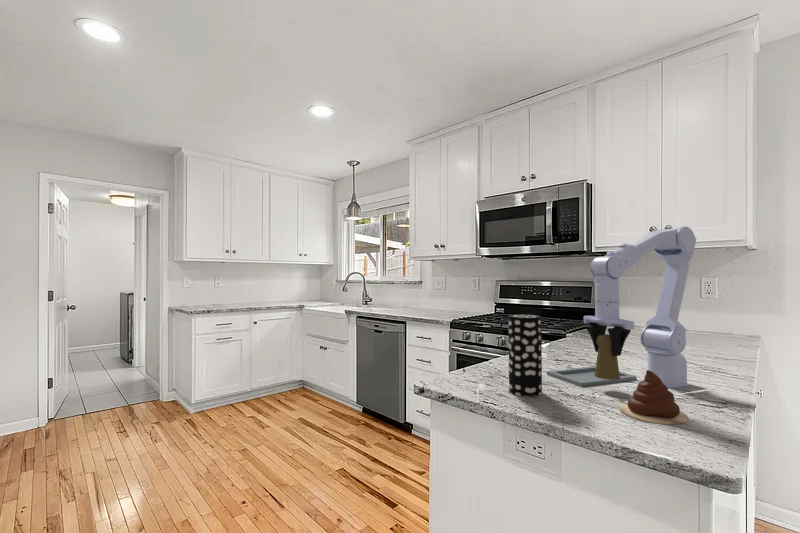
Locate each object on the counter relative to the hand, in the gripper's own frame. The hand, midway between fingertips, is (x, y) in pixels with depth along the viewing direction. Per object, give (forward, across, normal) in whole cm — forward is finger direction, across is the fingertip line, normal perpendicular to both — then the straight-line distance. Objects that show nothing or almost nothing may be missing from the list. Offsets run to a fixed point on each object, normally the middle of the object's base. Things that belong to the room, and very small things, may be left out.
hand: (607, 353), depth 109 cm
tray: (+10, -12, +6) cm, 17 cm away
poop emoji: (+10, +16, -4) cm, 19 cm away
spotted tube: (+10, -8, -20) cm, 24 cm away
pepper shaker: (+6, 0, 0) cm, 6 cm away
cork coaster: (+10, +16, -4) cm, 19 cm away
